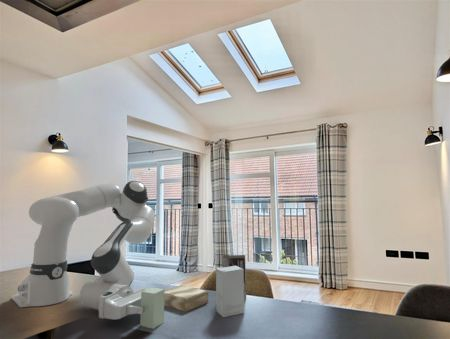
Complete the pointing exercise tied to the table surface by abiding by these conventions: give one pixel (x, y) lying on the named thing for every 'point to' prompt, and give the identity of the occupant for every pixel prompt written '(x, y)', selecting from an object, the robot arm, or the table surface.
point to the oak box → (185, 298)
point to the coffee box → (236, 261)
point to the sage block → (152, 307)
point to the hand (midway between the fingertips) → (153, 305)
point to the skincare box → (230, 291)
